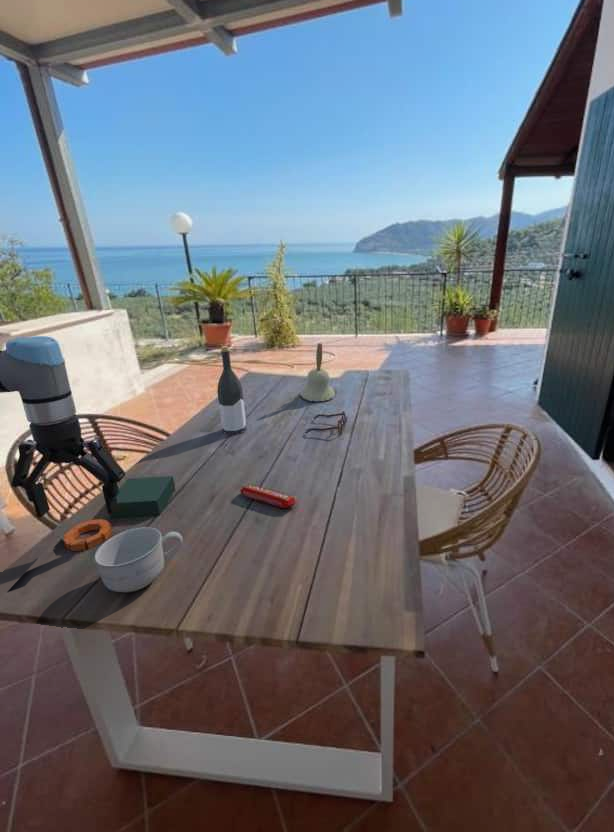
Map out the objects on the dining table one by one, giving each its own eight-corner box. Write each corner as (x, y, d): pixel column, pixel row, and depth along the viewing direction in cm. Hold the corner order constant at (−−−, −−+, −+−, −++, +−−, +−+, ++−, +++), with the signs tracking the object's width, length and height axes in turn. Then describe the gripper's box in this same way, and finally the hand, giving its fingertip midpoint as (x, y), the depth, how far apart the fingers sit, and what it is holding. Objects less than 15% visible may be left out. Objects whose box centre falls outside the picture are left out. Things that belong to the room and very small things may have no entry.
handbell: (326, 386, 180) (328, 335, 168) (340, 401, 168) (345, 348, 156) (294, 391, 172) (295, 338, 160) (307, 408, 161) (309, 352, 149)
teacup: (96, 608, 67) (85, 572, 64) (112, 564, 77) (103, 531, 74) (183, 588, 71) (176, 553, 68) (188, 549, 81) (182, 516, 78)
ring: (57, 552, 80) (54, 545, 79) (79, 526, 88) (77, 520, 87) (99, 549, 81) (97, 542, 80) (117, 523, 88) (116, 518, 88)
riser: (110, 518, 90) (106, 503, 89) (131, 491, 101) (127, 478, 99) (159, 514, 92) (156, 500, 90) (175, 489, 102) (172, 475, 100)
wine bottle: (232, 424, 142) (222, 343, 132) (251, 427, 139) (242, 344, 129) (217, 433, 135) (206, 348, 124) (237, 436, 132) (226, 349, 122)
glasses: (340, 437, 131) (340, 423, 130) (303, 435, 133) (302, 421, 131) (346, 422, 144) (346, 409, 142) (312, 420, 145) (311, 407, 143)
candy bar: (298, 505, 95) (298, 494, 94) (290, 513, 92) (289, 502, 91) (247, 489, 102) (246, 479, 101) (237, 496, 98) (236, 486, 97)
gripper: (130, 409, 79) (148, 498, 87) (-3, 412, 77) (26, 504, 84) (113, 423, 72) (133, 519, 80) (-35, 428, 70) (0, 526, 77)
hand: (78, 511), depth 82 cm, fingers open, 13 cm apart
